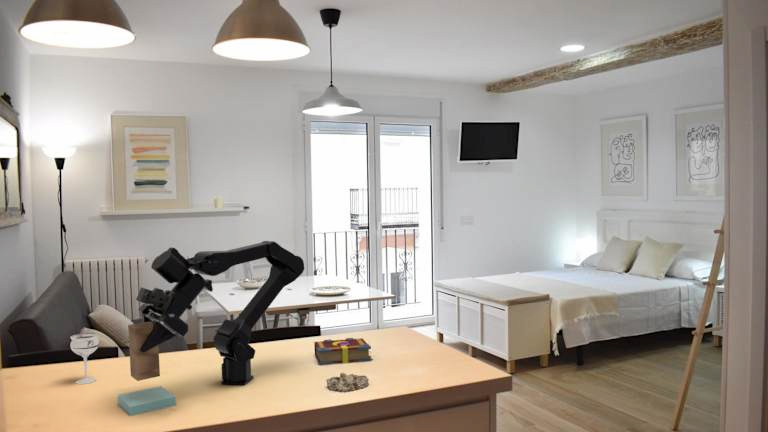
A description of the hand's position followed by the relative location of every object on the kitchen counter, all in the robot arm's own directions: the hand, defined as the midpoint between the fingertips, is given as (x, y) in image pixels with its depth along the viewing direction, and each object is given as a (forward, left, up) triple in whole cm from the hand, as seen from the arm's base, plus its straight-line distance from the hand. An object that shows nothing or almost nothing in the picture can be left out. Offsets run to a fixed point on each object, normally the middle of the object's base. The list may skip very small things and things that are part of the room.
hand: (137, 349), depth 139 cm
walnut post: (-1, -1, -7) cm, 7 cm away
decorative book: (-37, -45, -14) cm, 60 cm away
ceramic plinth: (-1, -1, -14) cm, 14 cm away
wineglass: (+25, -15, -13) cm, 32 cm away
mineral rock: (-45, -19, -14) cm, 51 cm away
